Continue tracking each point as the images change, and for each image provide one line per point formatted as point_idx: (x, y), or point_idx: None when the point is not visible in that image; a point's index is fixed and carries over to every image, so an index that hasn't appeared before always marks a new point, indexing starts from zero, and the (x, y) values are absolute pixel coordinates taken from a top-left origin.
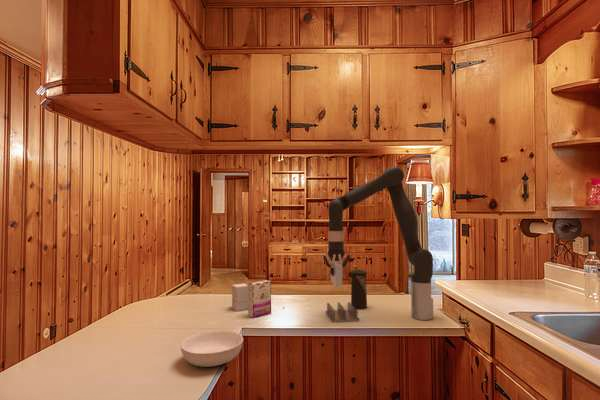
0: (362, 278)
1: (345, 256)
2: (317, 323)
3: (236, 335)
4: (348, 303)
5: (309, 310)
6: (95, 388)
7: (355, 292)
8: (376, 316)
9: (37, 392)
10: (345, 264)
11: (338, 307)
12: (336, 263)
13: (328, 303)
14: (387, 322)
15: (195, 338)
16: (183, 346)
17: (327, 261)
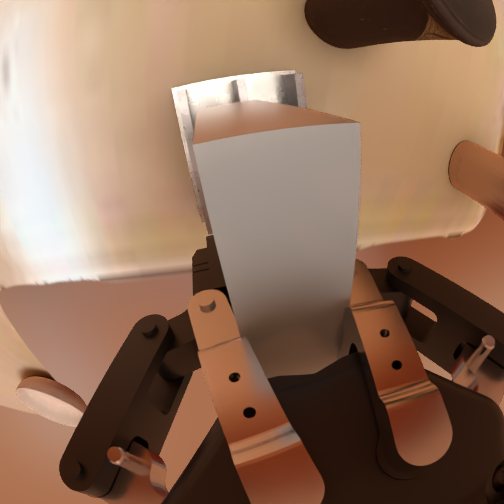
0: (449, 39)
1: (468, 385)
2: (149, 234)
3: (58, 397)
4: (294, 86)
5: (98, 72)
6: (24, 408)
7: (359, 25)
8: (373, 142)
9: (3, 405)
10: (403, 320)
11: (237, 100)
12: (301, 348)
13: (183, 104)
14: (382, 203)
15: (19, 391)
16: (32, 406)
17: (163, 426)
